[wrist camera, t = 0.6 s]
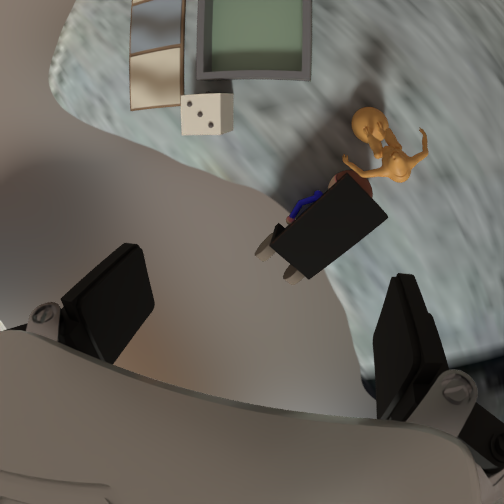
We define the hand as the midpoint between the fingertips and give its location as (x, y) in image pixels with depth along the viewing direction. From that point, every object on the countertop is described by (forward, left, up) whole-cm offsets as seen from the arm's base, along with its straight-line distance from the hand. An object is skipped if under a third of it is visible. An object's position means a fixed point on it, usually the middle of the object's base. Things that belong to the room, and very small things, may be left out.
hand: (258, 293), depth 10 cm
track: (-18, -19, -25) cm, 36 cm away
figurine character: (+7, +2, -26) cm, 27 cm away
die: (-5, -11, -25) cm, 28 cm away
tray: (-15, -6, -25) cm, 30 cm away
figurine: (-4, +7, -26) cm, 27 cm away
